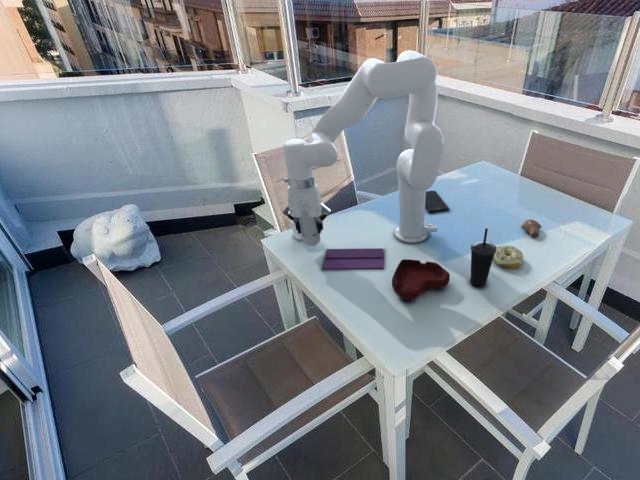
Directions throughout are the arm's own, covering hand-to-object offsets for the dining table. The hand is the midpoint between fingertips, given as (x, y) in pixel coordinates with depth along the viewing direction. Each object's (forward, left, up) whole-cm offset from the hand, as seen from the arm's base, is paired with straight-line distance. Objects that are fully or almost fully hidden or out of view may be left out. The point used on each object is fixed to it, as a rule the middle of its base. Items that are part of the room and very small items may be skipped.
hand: (310, 231), depth 130 cm
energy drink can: (0, 0, -5) cm, 5 cm away
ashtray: (-35, +19, -9) cm, 41 cm away
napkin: (-15, +5, -8) cm, 18 cm away
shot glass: (+6, -11, -9) cm, 15 cm away
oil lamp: (-81, -12, -9) cm, 82 cm away
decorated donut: (-67, +7, -9) cm, 68 cm away
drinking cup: (-55, +19, -9) cm, 59 cm away
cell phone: (-45, -37, -8) cm, 59 cm away
